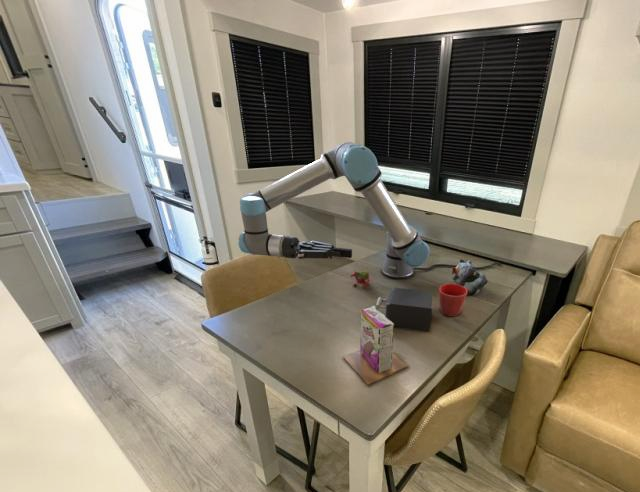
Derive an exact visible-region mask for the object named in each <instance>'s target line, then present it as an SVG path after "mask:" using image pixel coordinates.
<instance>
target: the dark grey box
mask: <svg viewBox="0 0 640 492" xmlns="http://www.w3.org/2000/svg"><path fill="white" fill-rule="evenodd" d="M392 290H393V294H392V297H391V301H390V305H389V320H390V321H391V322H392V323H393V324H394V328H396V329H403V330H404V329H405V330H413V331H421V332H430V325H431V318H432V317H431V316H432V308H433V297H434V296H433V294H434V291H430V290H421V289H411V288H404V287H403V288H402V287H394V288H393V289H392Z"/></svg>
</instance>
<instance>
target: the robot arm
mask: <svg viewBox="0 0 640 492" xmlns="http://www.w3.org/2000/svg"><path fill="white" fill-rule="evenodd" d="M382 176H383V173H382V171H381V169H380V168H379V163H378V159H377V157H376V155H375V153H373V151H372V150H371V149H370V148H368V147H367V146H365V145H363V144H357V143H355V142H350V141H347V142H343V143H340V144H338V145H337V146H335V147H333V148H332V149H330V150H328V151H326V152H324V153H322V154H321V155H320V159H317V160H315V161H313V162H312V163H309V164H308V165H305V166H304V167H302V168H300V169H298V170H296V171H294V172H292V173H290V174H288V175H285V176H284V177H283V178H280V179H279V180H277V181H274V182H272V183H271V184H269V185H266V186H264V187H262V188H261V189H259V190H257V191H255V192H249V193H247V194H245V195H244V196H243V197H242V198H240V199H239V208H240V209H239V210H240V213H241V214H240V215H241V219H242V223H243V231H242V232H241V233H240V234H239V236H238V242H237V245H238V248H239V249H240V251H241V252H243V253H244V254H249V255H255V256H266V257H267V256H268V257H276V258H278V259H280V258H286V259H296V258H297V259H298V260H302V259H325V260H326V259H333V257H335V258H336V257H337V258H345V259H351V258H353V248H345V247H336V246H335V244H331V243H328V242H320V241H316V240H314V239H309V242H308V241H300V240H299V238H298V237H297V236H291V235H284V234H283V235H282V234H272V233H271V234H270V233H269V228H268V218H267V212H269V211H271V210H273V209H275V208H276V207H279V206H280V205H282V204H285V203H286V202H288V201H290V200H292V199H294V198H296V197H298V196H299V195H301V194H303V193H305V192H308V191H309V190H311V189H313V188H315V187H317V186H318V185H321V184H323V183H324V182H326V181H328V180H337V179H339V178H341V177H345V178H346V179H347V181H348V182H349V184H350V185H351V187H352V189H353V190H354V192H356V193H360V194H362V196H363V197H364V199H365V200H366V202H367V204H368V206H370V208H371V210H372V211H373V212H374V213H375V215H376V217H377V218H378V220H379V221H380V223H381V225H382V226H383V227H384V229H385V230H386V254H385V259H384V262H383V264H382V266H381V273H382V275H383V276H385V277H386V278H387V277H388V278H391V279H397V280H401V279H402V280H403V279H408V278H411V277H412V276H413V275H414V271H415V270H417V271H418V270H419V271H428V270H431V269H433V268H435V267H449V268H456V267H457V266H458V264H457V265H456V264H446V263H436V264H432V265H430V266H429V267H420V266H422V265H423V264H425V262H426V261H427V260H428V259H429V255H430V247H429V245H428V244H427V243H426V242H425V241H424V240H423V239H422V238H421V235H420V234H419V233H418V231H417V229H416V228H415V227H413V226H412V225H409V223H408V221H407V220H406V219H405V216H404V215H403V214H402V212H401V210H400V209H399V207H398V205H397V204H396V202H395V200H394V199H393V197H392V195H391V194H390V192H389V191H388V189H387V187H386V186H385V184H384V181H382ZM495 265H498V266H501V265H502V264H501V263H500V262H499V261H496V262H493V263H492V264H488V265H485V266H475V268H476V270H483V269H487V268H491V267H493V266H495Z"/></svg>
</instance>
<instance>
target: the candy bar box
mask: <svg viewBox="0 0 640 492" xmlns="http://www.w3.org/2000/svg"><path fill="white" fill-rule="evenodd" d="M375 306H376V305H372V306H368V307H363V308H361V309H360V310H359V312H360V313H359V323H360V324H359V325H360V326H359V327H360V328H359V330H360V333H359V334H360V335H359V336H360V341H359V342H360V343H359V344H360V345H359V346H360V348H359V349H360V350H359V351H360V353H361V355H362V356H363V357H364V358H365V359H366V360H367V361H368V363H369V364H370V365H371V366H372V367H373V368H374V369H375V371H376V372H377V373H378V374H379V373H382V372H384V371H386V370H389V369H391V364H392V352H393V347H394V346H393V345H394V330H395V329H394V328H395V327H394V324H393V323H392V322H391V321H390V320H389V319H388V318H387V317H386V314H384V313H383V312H381V311H380V309H377V308H376V307H375Z"/></svg>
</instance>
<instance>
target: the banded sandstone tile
mask: <svg viewBox="0 0 640 492" xmlns="http://www.w3.org/2000/svg"><path fill="white" fill-rule="evenodd" d="M343 359H344V360H345V361H346V362H347V364H348V365H349V366H350V367H351V368H352V370H354V372H356V373H357V374H358V376H359V377H360V378H361V379H362V381H364V383H365V384H366V385H367V386H370V385H372V384H374V383H377V382H379V381H381V380H383V379H386V378H388V377H390V376H392V375H394V374H396V373H398V372H400V371H402V370H405V369H407V368H408V365H407V364H406V363H405V362H404V361H403V360H402V359H401V358H400V357H399V356H397V355H396V354H395V353H394V352H393V351H392V364H391V369H389V370H386V371H384V372H382V373H379V374H378V373H377V372H376V371H375V369H374V368H373V367H372V366H371V365H370V364H369V363H368V361H367V360H366V359H365V358H364V357H363V356H362V355H361V353H360V350H358V351H355V352H353V353H351V354H348V355H344V356H343Z"/></svg>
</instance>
